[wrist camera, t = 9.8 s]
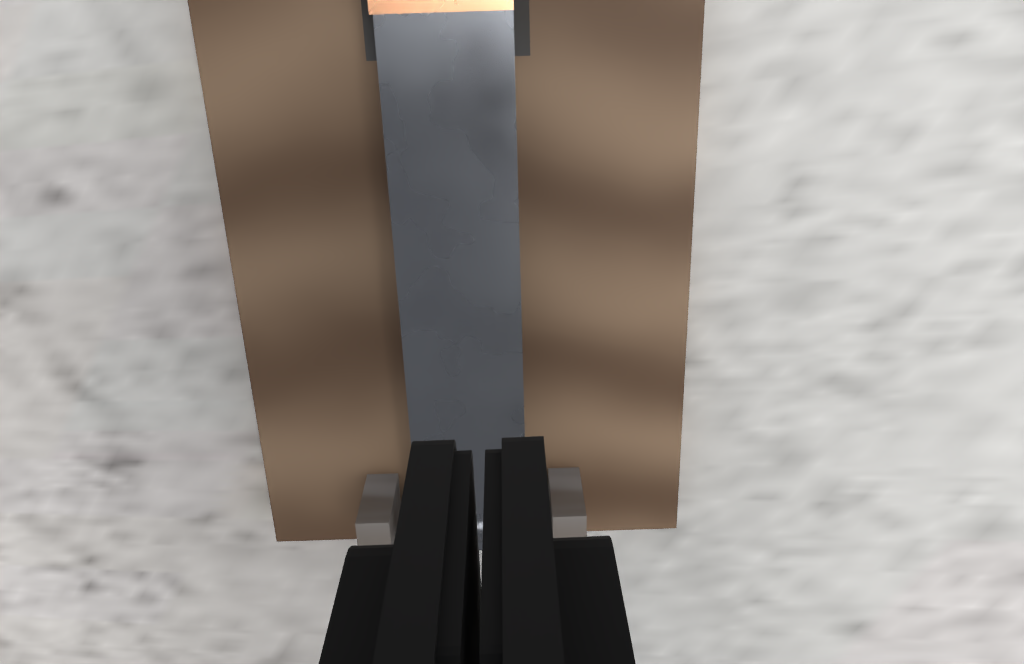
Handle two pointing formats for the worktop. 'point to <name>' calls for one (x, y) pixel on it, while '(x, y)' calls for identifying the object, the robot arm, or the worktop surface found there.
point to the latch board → (543, 252)
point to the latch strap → (454, 217)
